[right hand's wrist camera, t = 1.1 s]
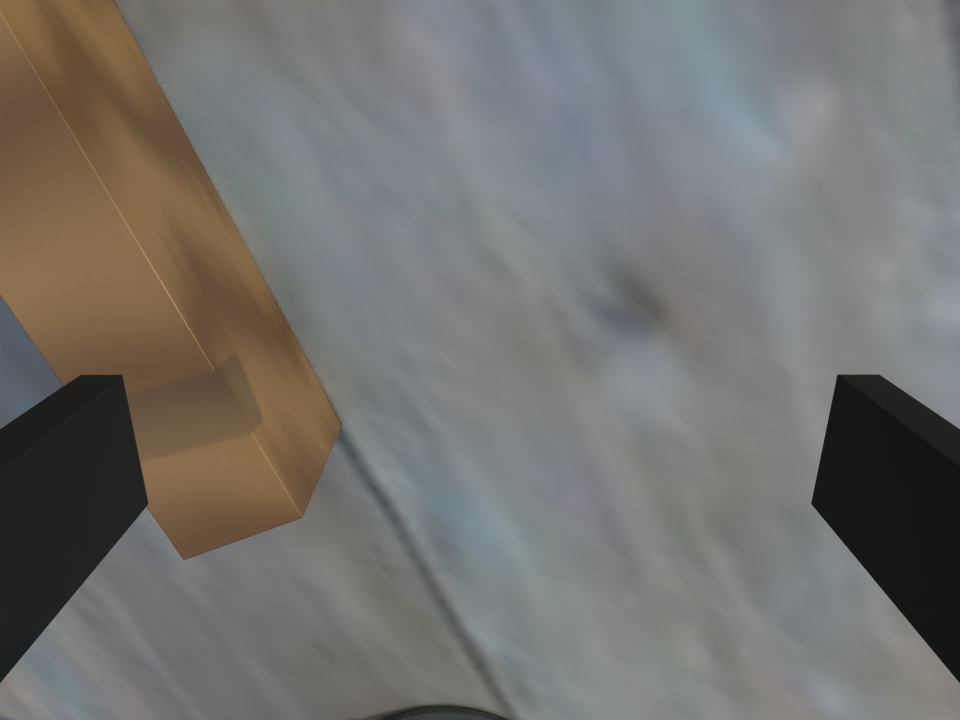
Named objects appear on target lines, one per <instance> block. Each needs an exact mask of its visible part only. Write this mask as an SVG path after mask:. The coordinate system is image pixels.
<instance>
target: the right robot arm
mask: <svg viewBox="0 0 960 720" xmlns="http://www.w3.org/2000/svg"><path fill="white" fill-rule="evenodd" d="M148 504H149V503H148V498H147V493H146V488H145V483H144V479H143V474H142V469H141V464H140V459H139V454H138V449H137V444H136V439H135V434H134V429H133V424H132V419H131V414H130V410H129V405H128V400H127V395H126V390H125V385H124V380H123V375H80V376H78V377H77V378H75V379H74V380H72V381H71V382H69V383H68V384H66V385H65V386H63V387H62V388H60V389H59V390H58V391H56V392H55V393H53V394H52V395H50V396H49V397H47V398H46V399H44V400H43V401H41V402H40V403H38V404H37V405H35V406H34V407H32V408H31V409H29V410H28V411H27V412H25V413H24V414H22V415H21V416H19V417H18V418H16V419H15V420H13V421H12V422H10V423H9V424H7V425H6V426H4V427H3V428H1V429H0V683H1V681H2V680H3V679H4V678H5V677H6V675H7V674H8V673H9V672H10V671H11V669H12V668H13V667H14V666H15V664H16V663H17V662H18V661H19V660H20V658H21V657H22V656H23V655H24V654H25V652H26V651H27V650H28V649H29V648H30V646H31V645H32V644H33V643H34V642H35V640H36V639H37V638H38V637H39V636H40V634H41V633H42V632H43V631H44V629H45V628H46V627H47V626H48V625H49V623H50V622H51V621H52V620H53V619H54V617H55V616H56V615H57V614H58V613H59V611H60V610H61V609H62V608H63V607H64V605H65V604H66V603H67V602H68V601H69V599H70V598H71V597H72V596H73V595H74V593H75V592H76V591H77V590H78V588H79V587H80V586H81V585H82V584H83V582H84V581H85V580H86V579H87V578H88V576H89V575H90V574H91V573H92V572H93V570H94V569H95V568H96V567H97V566H98V564H99V563H100V562H101V561H102V560H103V558H104V557H105V556H106V555H107V553H108V552H109V551H110V550H111V549H112V547H113V546H114V545H115V544H116V543H117V541H118V540H119V539H120V538H121V537H122V535H123V534H124V533H125V532H126V531H127V529H128V528H129V527H130V526H131V525H132V523H133V522H134V521H135V520H136V518H137V517H138V516H139V515H140V514H141V512H142V511H143V510H144V509H145V508H146V506H147V505H148ZM811 504H812V505H813V506H814V508H815V509H816V510H817V511H818V512H819V514H820V515H821V516H822V517H823V518H824V520H825V521H826V522H827V523H828V525H829V526H830V527H831V528H832V529H833V531H834V532H835V533H836V534H837V535H838V537H839V538H840V539H841V540H842V541H843V543H844V544H845V545H846V546H847V547H848V549H849V550H850V551H851V552H852V553H853V555H854V556H855V557H856V558H857V560H858V561H859V562H860V563H861V564H862V566H863V567H864V568H865V569H866V570H867V572H868V573H869V574H870V575H871V576H872V578H873V579H874V580H875V581H876V582H877V584H878V585H879V586H880V587H881V588H882V590H883V591H884V592H885V593H886V595H887V596H888V597H889V598H890V599H891V601H892V602H893V603H894V604H895V605H896V607H897V608H898V609H899V610H900V611H901V613H902V614H903V615H904V616H905V617H906V619H907V620H908V621H909V622H910V623H911V625H912V626H913V627H914V628H915V629H916V631H917V632H918V633H919V634H920V636H921V637H922V638H923V639H924V640H925V642H926V643H927V644H928V645H929V646H930V648H931V649H932V650H933V651H934V652H935V654H936V655H937V656H938V657H939V658H940V660H941V661H942V662H943V663H944V664H945V666H946V667H947V668H948V669H949V671H950V672H951V673H952V674H953V675H954V677H955V678H956V679H957V680H958V681H959V683H960V429H959V428H957V427H956V426H954V425H953V424H951V423H950V422H948V421H947V420H945V419H944V418H942V417H941V416H939V415H938V414H936V413H935V412H933V411H932V410H931V409H929V408H928V407H926V406H925V405H923V404H922V403H920V402H919V401H917V400H916V399H914V398H913V397H911V396H910V395H908V394H907V393H905V392H904V391H902V390H901V389H900V388H898V387H897V386H895V385H894V384H892V383H891V382H889V381H888V380H886V379H885V378H883V377H882V376H880V375H837V380H836V385H835V390H834V395H833V400H832V405H831V410H830V414H829V419H828V424H827V429H826V434H825V439H824V444H823V449H822V454H821V459H820V464H819V469H818V474H817V479H816V483H815V488H814V493H813V498H812V503H811ZM384 720H506V719H504V718H502V717H499V716H496V715H493V714H490V713H486V712H482V711H478V710H472V709H465V708H455V707H436V708H425V709H418V710H413V711H408V712H404V713H401V714H397V715H394V716H392V717H389V718H386V719H384Z"/></svg>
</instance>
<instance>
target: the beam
mask: <svg viewBox="0 0 960 720" xmlns="http://www.w3.org/2000/svg"><path fill="white" fill-rule="evenodd" d="M0 295H1V297H2V298H3V300H4V301H5V303H6V304H7V305H8V307H9V308H10V310H11V311H12V313H13V314H14V316H15V317H16V318H17V320H18V321H19V323H20V324H21V326H22V327H23V329H24V330H25V331H26V333H27V334H28V336H29V337H30V339H31V340H32V342H33V343H34V345H35V346H36V347H37V349H38V350H39V352H40V353H41V355H42V356H43V358H44V359H45V360H46V362H47V363H48V365H49V366H50V368H51V369H52V371H53V372H54V373H55V375H56V376H57V378H58V379H59V381H60V382H61V384H62V385H63V386H65V385H66V384H68V383H69V382H71V381H72V380H74V379H75V378H77V377H78V376H80V375H123V380H124V385H125V390H126V395H127V400H128V405H129V410H130V414H131V419H132V424H133V429H134V434H135V439H136V444H137V449H138V454H139V459H140V464H141V469H142V474H143V479H144V483H145V488H146V493H147V498H148V503H149V504H148V505H147V508H148V509H149V511H150V512H151V514H152V515H153V516H154V518H155V519H156V521H157V522H158V524H159V525H160V527H161V528H162V529H163V531H164V532H165V534H166V535H167V537H168V538H169V540H170V541H171V542H172V544H173V545H174V547H175V548H176V550H177V551H178V553H179V554H180V555H181V557H182V558H183V559H184V560H185V559H188V558H191V557H194V556H197V555H199V554H202V553H205V552H208V551H211V550H213V549H216V548H219V547H222V546H224V545H227V544H230V543H233V542H236V541H238V540H241V539H244V538H247V537H250V536H252V535H255V534H258V533H261V532H264V531H266V530H269V529H272V528H275V527H278V526H280V525H283V524H286V523H289V522H292V521H294V520H297V519H300V518H302V517H303V515H304V513H305V510H306V508H307V506H308V503H309V501H310V499H311V496H312V494H313V492H314V489H315V487H316V485H317V482H318V480H319V478H320V475H321V473H322V471H323V468H324V466H325V464H326V461H327V459H328V457H329V454H330V452H331V450H332V447H333V445H334V443H335V440H336V438H337V436H338V433H339V431H340V429H341V426H342V423H341V421H340V419H339V417H338V415H337V414H336V412H335V410H334V408H333V406H332V404H331V402H330V401H329V399H328V397H327V395H326V393H325V391H324V389H323V388H322V386H321V384H320V382H319V380H318V378H317V377H316V375H315V373H314V371H313V369H312V367H311V365H310V364H309V362H308V360H307V358H306V356H305V354H304V352H303V351H302V349H301V347H300V345H299V343H298V341H297V340H296V338H295V336H294V334H293V332H292V330H291V328H290V327H289V325H288V323H287V321H286V319H285V317H284V315H283V314H282V312H281V310H280V308H279V306H278V304H277V302H276V301H275V299H274V297H273V295H272V293H271V291H270V290H269V288H268V286H267V284H266V282H265V280H264V278H263V277H262V275H261V273H260V271H259V269H258V267H257V265H256V264H255V262H254V260H253V258H252V256H251V254H250V252H249V251H248V249H247V247H246V245H245V243H244V241H243V240H242V238H241V236H240V234H239V232H238V230H237V228H236V227H235V225H234V223H233V221H232V219H231V217H230V215H229V214H228V212H227V210H226V208H225V206H224V204H223V202H222V201H221V199H220V197H219V195H218V193H217V191H216V190H215V188H214V186H213V184H212V182H211V180H210V178H209V177H208V175H207V173H206V171H205V169H204V167H203V165H202V164H201V162H200V160H199V158H198V156H197V154H196V152H195V151H194V149H193V147H192V145H191V143H190V141H189V140H188V138H187V136H186V134H185V132H184V130H183V128H182V127H181V125H180V123H179V121H178V119H177V117H176V115H175V114H174V112H173V110H172V108H171V106H170V104H169V102H168V101H167V99H166V97H165V95H164V93H163V91H162V90H161V88H160V86H159V84H158V82H157V80H156V78H155V77H154V75H153V73H152V71H151V69H150V67H149V65H148V64H147V62H146V60H145V58H144V56H143V54H142V52H141V51H140V49H139V47H138V45H137V43H136V41H135V40H134V38H133V36H132V34H131V32H130V30H129V28H128V27H127V25H126V23H125V21H124V19H123V17H122V15H121V14H120V12H119V10H118V8H117V6H116V4H115V2H114V1H113V0H0Z"/></svg>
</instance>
